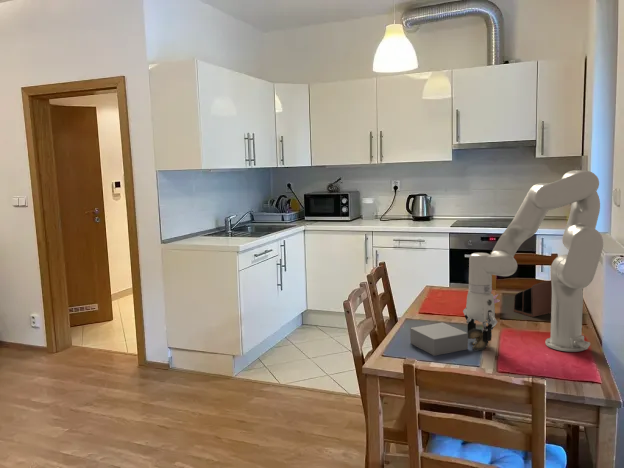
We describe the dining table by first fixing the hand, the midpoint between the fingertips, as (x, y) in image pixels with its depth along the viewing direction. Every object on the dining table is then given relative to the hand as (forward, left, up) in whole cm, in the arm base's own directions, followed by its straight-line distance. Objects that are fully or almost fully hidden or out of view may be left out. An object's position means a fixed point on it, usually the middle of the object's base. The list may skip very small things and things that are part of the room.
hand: (479, 337), depth 182 cm
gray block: (+5, +14, -3) cm, 15 cm away
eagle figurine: (-1, +1, -3) cm, 3 cm away
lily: (+27, -28, -3) cm, 39 cm away
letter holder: (+21, -50, -3) cm, 54 cm away
